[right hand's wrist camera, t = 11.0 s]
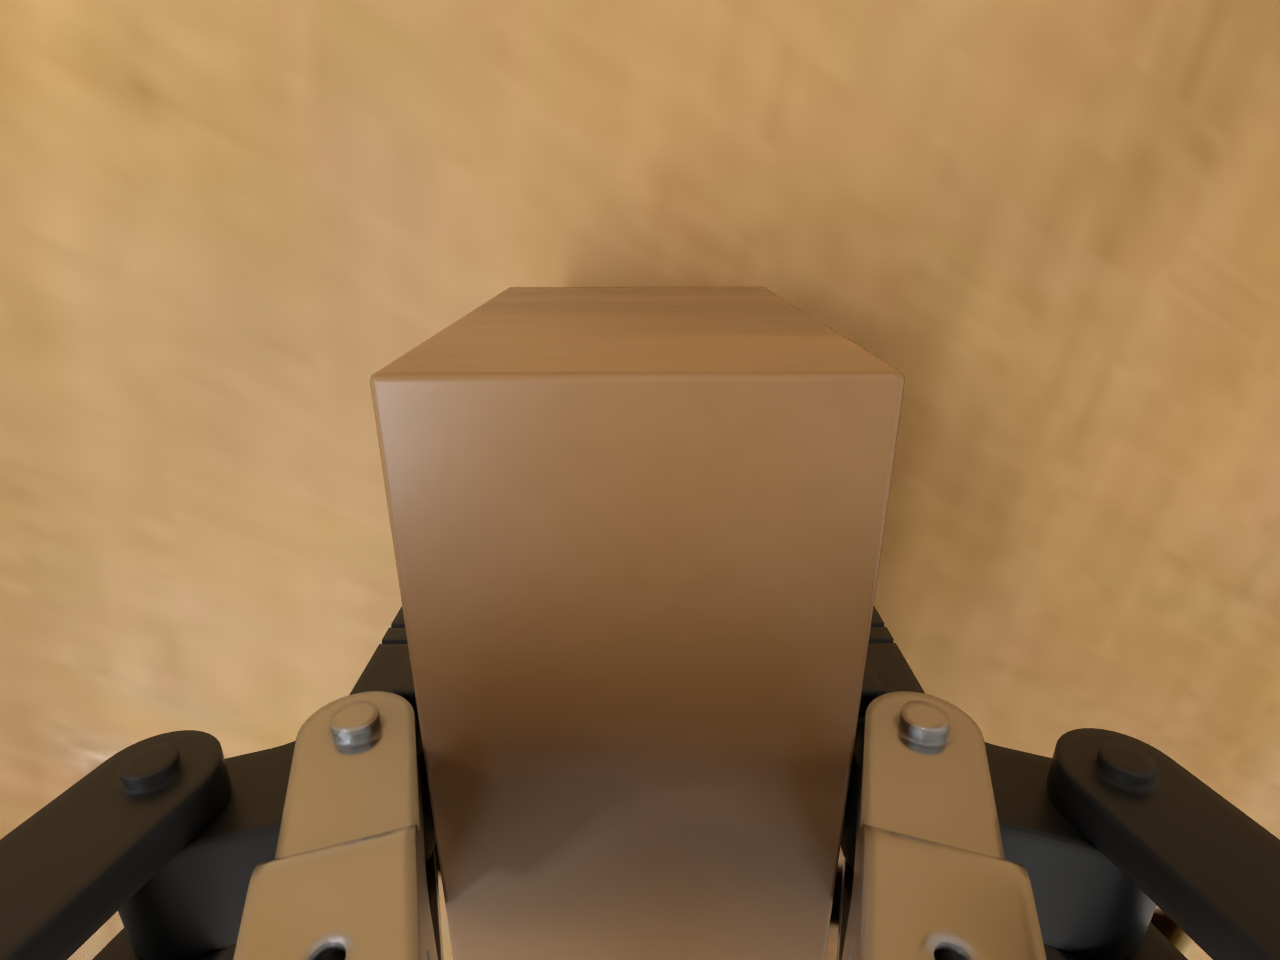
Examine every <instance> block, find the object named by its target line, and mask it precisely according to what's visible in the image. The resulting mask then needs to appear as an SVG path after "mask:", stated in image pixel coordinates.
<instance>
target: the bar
mask: <svg viewBox="0 0 1280 960" xmlns="http://www.w3.org/2000/svg"><path fill="white" fill-rule="evenodd" d="M904 381H905V379H904V376H903V373H901V372H899V371H898V370H896V369H895V368H893V367H891V366H890V365H888V364H887V363H885V362H883V361H882V360H880V359H878V358H877V357H875V356H874V355H872V354H870V353H869V352H867V351H866V350H864V349H862V348H861V347H859V346H858V345H856V344H854V343H853V342H851V341H850V340H848V339H846V338H845V337H843V336H842V335H840V334H838V333H837V332H835V331H834V330H832V329H830V328H829V327H827V326H825V325H824V324H822V323H821V322H819V321H817V320H816V319H814V318H813V317H811V316H809V315H808V314H806V313H805V312H803V311H801V310H800V309H798V308H797V307H795V306H793V305H792V304H790V303H789V302H787V301H785V300H784V299H782V298H781V297H779V296H777V295H776V294H774V293H773V292H771V291H769V290H768V289H766V288H764V287H510V288H508V289H506V290H505V291H503V292H502V293H500V294H499V295H497V296H495V297H494V298H492V299H491V300H489V301H488V302H486V303H484V304H483V305H481V306H480V307H478V308H477V309H475V310H473V311H472V312H470V313H469V314H467V315H466V316H464V317H462V318H461V319H459V320H458V321H456V322H455V323H453V324H451V325H450V326H448V327H447V328H445V329H444V330H442V331H440V332H439V333H437V334H436V335H434V336H433V337H431V338H429V339H428V340H426V341H425V342H423V343H422V344H420V345H418V346H417V347H415V348H414V349H412V350H411V351H409V352H407V353H406V354H404V355H403V356H401V357H400V358H398V359H396V360H395V361H393V362H392V363H390V364H389V365H387V366H385V367H384V368H382V369H381V370H379V371H378V372H376V373H374V374H373V375H372V376H371V379H370V385H371V392H372V399H373V406H374V413H375V420H376V427H377V434H378V440H379V447H380V454H381V461H382V468H383V475H384V482H385V489H386V496H387V503H388V510H389V517H390V524H391V530H392V537H393V544H394V551H395V558H396V565H397V572H398V579H399V586H400V593H401V600H402V607H403V614H404V620H405V627H406V634H407V641H408V648H409V655H410V662H411V669H412V676H413V683H414V690H415V697H416V704H417V710H418V717H419V724H420V731H421V738H422V745H423V752H424V759H425V766H426V773H427V780H428V787H429V794H430V800H431V807H432V814H433V821H434V828H435V835H436V842H437V849H438V856H439V863H440V870H441V877H442V883H443V890H444V897H445V904H446V911H447V918H448V925H449V932H450V939H451V946H452V953H453V960H825V953H826V945H827V938H828V931H829V924H830V916H831V909H832V902H833V895H834V887H835V880H836V873H837V866H838V859H839V851H840V844H841V837H842V830H843V822H844V815H845V808H846V801H847V793H848V786H849V779H850V772H851V764H852V757H853V750H854V743H855V736H856V728H857V721H858V714H859V707H860V699H861V692H862V685H863V678H864V670H865V663H866V656H867V649H868V642H869V634H870V627H871V620H872V613H873V605H874V598H875V591H876V584H877V576H878V569H879V562H880V555H881V547H882V540H883V533H884V526H885V519H886V511H887V504H888V497H889V490H890V482H891V475H892V468H893V461H894V453H895V446H896V439H897V432H898V425H899V417H900V410H901V403H902V396H903V388H904Z"/></svg>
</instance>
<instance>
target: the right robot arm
mask: <svg viewBox="0 0 1280 960" xmlns="http://www.w3.org/2000/svg"><path fill="white" fill-rule="evenodd" d="M435 842H436V835H435V828H434V821H433V814H432V807H431V800H430V794H429V787H428V780H427V773H426V766H425V759H424V752H423V745H422V738H421V731H420V724H419V717H418V710H417V704H416V697H415V690H414V683H413V676H412V669H411V662H410V655H409V648H408V641H407V634H406V627H405V620H404V614H403V607H401V609H400V610H399V612H398V614H397V615H396V617H395V619H394V621H393V622H392V624H391V628H389V629H388V631H387V632H386V634H385V636H384V637H383V639H382V644H379V646H378V648H377V649H376V651H375V653H374V654H373V656H372V658H371V659H370V661H369V663H368V665H367V666H366V668H365V670H364V671H363V673H362V675H361V676H360V678H359V680H358V681H357V683H356V685H355V687H354V688H353V690H352V692H351V693H350V695H349V696H346V697H343V698H340V699H338V700H335V701H333V702H331V703H329V704H327V705H326V706H324V707H322V708H321V709H319V710H318V711H316V712H315V713H314V714H313V715H312V716H310V717H309V718H308V719H307V720H306V722H305V723H304V724H303V725H302V727H301V729H300V730H299V732H298V735H297V738H296V741H294V742H291V743H288V744H286V745H283V746H279V747H275V748H272V749H267V750H263V751H258V752H254V753H249V754H245V755H240V756H236V757H231V758H227V759H224V755H223V751H222V748H221V745H220V742H219V741H218V740H217V739H216V738H215V737H214V736H212V735H210V734H208V733H205V732H201V731H193V730H184V731H175V732H169V733H164V734H161V735H157V736H154V737H150V738H148V739H145V740H143V741H140V742H138V743H136V744H133V745H131V746H129V747H127V748H125V749H124V750H122V751H120V752H118V753H117V754H115V755H114V756H112V757H111V758H109V759H108V760H106V761H105V762H104V763H102V764H101V765H100V766H98V767H97V768H96V769H94V770H93V771H92V772H90V773H89V774H88V775H86V776H85V777H84V778H82V779H81V780H80V781H78V782H77V783H76V784H74V785H73V786H72V787H70V788H69V789H68V790H66V791H65V792H64V793H62V794H61V795H60V796H58V797H57V798H56V799H54V800H53V801H52V802H50V803H49V804H48V805H46V806H45V807H44V808H42V809H41V810H40V811H38V812H37V813H36V814H34V815H33V816H32V817H30V818H29V819H28V820H26V821H25V822H24V823H22V824H21V825H20V826H18V827H17V828H16V829H14V830H13V831H12V832H10V833H9V834H7V835H6V836H5V837H3V838H2V839H1V840H0V960H67V959H68V958H69V957H70V956H71V955H72V954H73V953H74V952H75V951H76V950H77V949H78V948H79V947H80V946H82V945H83V944H84V943H85V942H86V941H87V940H88V939H89V938H90V937H91V936H92V935H93V934H94V933H95V932H96V931H97V930H98V929H99V928H100V927H101V926H102V925H103V924H104V923H105V922H106V921H107V920H108V919H109V918H111V917H112V916H113V915H114V914H115V913H116V912H117V911H118V912H119V915H120V917H121V920H122V922H123V925H124V928H123V929H122V930H121V931H120V932H119V933H118V934H117V935H116V936H115V937H114V938H113V939H112V940H111V941H110V942H109V943H108V944H107V945H106V946H105V947H104V948H103V949H102V950H101V951H100V952H99V953H98V954H97V955H96V956H95V957H94V958H93V959H92V960H443V945H442V931H441V917H440V902H439V888H438V874H437V866H436V859H435V852H434V846H435ZM840 845H841V848H842V851H843V855H844V857H845V859H844V866H843V873H842V887H841V901H840V916H839V930H838V944H837V959H836V960H1188V959H1187V958H1186V957H1185V956H1184V955H1183V954H1182V953H1181V952H1180V951H1179V950H1178V949H1177V948H1176V947H1175V946H1174V945H1173V944H1172V943H1171V942H1170V941H1169V940H1168V939H1167V938H1166V937H1165V936H1164V935H1163V934H1162V933H1161V932H1160V931H1159V930H1158V929H1157V928H1156V927H1155V926H1154V925H1153V924H1152V923H1151V922H1150V920H1151V918H1152V915H1153V913H1154V910H1155V907H1156V905H1157V906H1158V907H1159V908H1160V909H1161V910H1162V911H1163V912H1164V913H1165V914H1166V915H1167V916H1168V917H1169V918H1171V919H1172V920H1173V921H1174V922H1175V923H1176V924H1177V925H1178V926H1179V927H1180V928H1181V929H1182V930H1183V931H1184V932H1185V933H1186V934H1187V935H1188V936H1189V937H1190V938H1191V939H1192V940H1193V941H1194V942H1195V943H1196V944H1197V945H1198V946H1199V947H1201V948H1202V949H1203V950H1204V951H1205V952H1206V953H1207V954H1208V955H1209V956H1210V957H1211V958H1212V959H1213V960H1280V840H1279V839H1278V838H1276V837H1275V836H1274V835H1272V834H1271V833H1270V832H1268V831H1267V830H1266V829H1264V828H1263V827H1262V826H1260V825H1259V824H1258V823H1256V822H1255V821H1254V820H1252V819H1251V818H1250V817H1248V816H1247V815H1246V814H1244V813H1243V812H1242V811H1240V810H1239V809H1238V808H1236V807H1235V806H1234V805H1232V804H1231V803H1230V802H1228V801H1227V800H1226V799H1224V798H1223V797H1222V796H1220V795H1219V794H1218V793H1216V792H1215V791H1214V790H1212V789H1211V788H1210V787H1208V786H1207V785H1206V784H1204V783H1203V782H1202V781H1200V780H1199V779H1198V778H1196V777H1195V776H1194V775H1192V774H1191V773H1190V772H1188V771H1187V770H1186V769H1184V768H1183V767H1182V766H1180V765H1179V764H1178V763H1176V762H1175V761H1174V760H1172V759H1171V758H1170V757H1168V756H1167V755H1165V754H1164V753H1162V752H1161V751H1159V750H1157V749H1156V748H1154V747H1152V746H1150V745H1148V744H1146V743H1144V742H1142V741H1140V740H1138V739H1135V738H1132V737H1130V736H1127V735H1124V734H1121V733H1117V732H1113V731H1108V730H1103V729H1094V728H1083V729H1076V730H1072V731H1069V732H1067V733H1065V734H1064V735H1062V736H1061V737H1060V738H1059V740H1058V741H1057V744H1056V747H1055V751H1054V755H1053V758H1048V757H1044V756H1039V755H1035V754H1030V753H1026V752H1022V751H1017V750H1013V749H1008V748H1004V747H1000V746H996V745H992V744H989V743H986V742H984V738H983V735H982V732H981V730H980V729H979V727H978V725H977V724H976V723H975V722H974V721H973V719H972V718H971V717H969V716H968V715H967V714H966V713H965V712H963V711H962V710H961V709H959V708H958V707H956V706H954V705H953V704H951V703H949V702H947V701H945V700H942V699H940V698H937V697H934V696H931V695H928V694H925V693H924V691H923V689H922V688H921V686H920V684H919V682H918V681H917V679H916V677H915V676H914V674H913V672H912V670H911V669H910V667H909V665H908V663H907V662H906V660H905V658H904V657H903V655H902V653H901V651H900V650H899V648H898V646H897V645H896V643H893V638H892V636H891V634H890V633H889V631H888V629H887V627H884V622H883V621H882V619H881V617H880V615H879V614H878V612H877V610H876V609H875V607H874V605H873V613H872V620H871V627H870V634H869V642H868V649H867V656H866V663H865V670H864V678H863V685H862V692H861V699H860V707H859V714H858V721H857V728H856V736H855V743H854V750H853V757H852V764H851V772H850V779H849V786H848V793H847V801H846V808H845V815H844V822H843V830H842V837H841V844H840Z"/></svg>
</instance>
